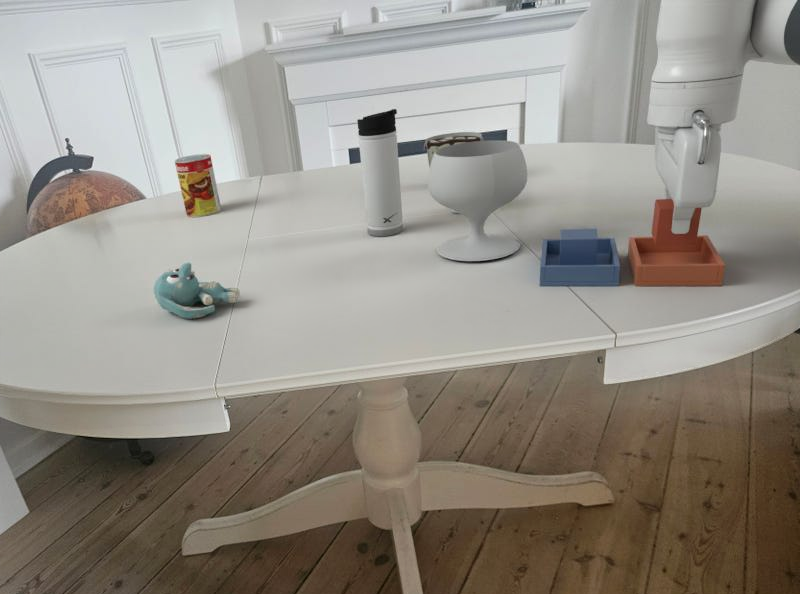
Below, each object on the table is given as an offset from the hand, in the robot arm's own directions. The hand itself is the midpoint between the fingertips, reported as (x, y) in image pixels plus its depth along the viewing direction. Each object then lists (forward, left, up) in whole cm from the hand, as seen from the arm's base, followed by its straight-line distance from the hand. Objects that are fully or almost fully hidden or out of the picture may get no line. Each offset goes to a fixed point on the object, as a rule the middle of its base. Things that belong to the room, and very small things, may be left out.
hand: (675, 225), depth 77 cm
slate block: (+11, 0, -5) cm, 12 cm away
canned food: (+89, -39, -6) cm, 97 cm away
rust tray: (0, 0, -6) cm, 6 cm away
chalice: (+25, -9, -6) cm, 27 cm away
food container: (+35, -54, -6) cm, 65 cm away
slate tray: (+11, 0, -6) cm, 12 cm away
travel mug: (+42, -20, -6) cm, 47 cm away
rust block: (0, 0, -2) cm, 2 cm away
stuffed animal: (+61, +14, -6) cm, 63 cm away
